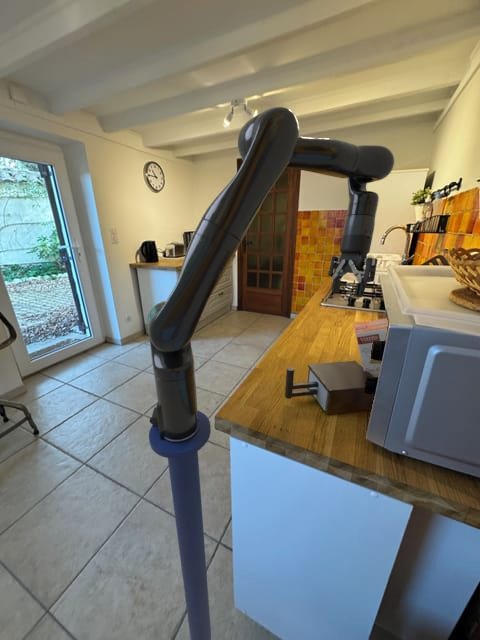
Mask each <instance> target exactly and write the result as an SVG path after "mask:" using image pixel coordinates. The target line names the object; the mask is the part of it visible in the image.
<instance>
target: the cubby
mask: <svg viewBox="0 0 480 640" xmlns="http://www.w3.org/2000/svg"><path fill="white" fill-rule="evenodd" d="M307 368H308V374H307V382H309V374H310V370H311V371H312V372H313V374H314V375H315V376H316V377H317V379H318V380H319V381H320V382H321V384H322V385H323V386H324V387H325V389H326V390H327V391H328V392H329V396H328V403H327V410H326V411H325V414H326V415H337V414H338V415H339V414H345V413H355V412H365V411H372V410H371V409H372V404H373V400H374V395H368V394H365V393H364V386H365V379H366V376H372V377H374V376H373V375H372V374H370V373H369V372H368V371H364V370H363V366H362V364H360V363H359V362H358V361H356V360H347V361H334V362H321V363H310V364H307Z"/></svg>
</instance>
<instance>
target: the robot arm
mask: <svg viewBox="0 0 480 640" xmlns="http://www.w3.org/2000/svg"><path fill="white" fill-rule="evenodd" d="M237 149H238V153H239V156H240V157H241V160H242V162H241V165H240V167H239V169H238V170H237V172H236V173H235V174H234V176H233V178H232V179H231V180H230V181H229V183H227V185H226V186H225V187H224V188H223V189H222V190H221V191H220V192H219V194H218V195H217V196H216V197H215V199H213V201H212V202H211V203H210V204H209V206H208V207H207V208H206V211H204V213H203V215H202V217H201V218H200V220H199V222H198V224H197V226H196V228H195V230H194V231H193V234H192V236H191V238H190V241H189V242H188V246H187V249H186V252H185V255H184V258H183V261H182V265H181V269H180V272H179V274H178V278H177V281H176V283H175V285H174V287H173V289H172V291H171V292H170V294H169V295H168V297H167V299H166V300H164V301H161V302H158V303H156V304H155V305H154V306H153V307H152V308H151V309H150V310H149V313H148V315H147V333H148V337H149V344H150V352H151V362H152V363H151V364H152V370H153V376H154V384H155V391H156V393H155V394H156V399H157V401H156V406H155V407H154V408H153V410H152V415H151V417H150V418H149V423H150V424H151V426H152V425H153V427H159V433H160V440H166V441H168V442H172V443H180V442H184V441H187V440H189V439H191V438H192V437H193V436H195V434H196V433H197V431H198V429H199V422H198V411H199V410H198V398H197V386H196V385H197V384H196V371H195V370H196V369H195V368H196V367H195V359H194V353H193V349H192V339H193V337H194V335H195V332H196V330H197V328H198V325H199V322H200V320H201V318H202V315H203V314H204V310H205V309H206V306H207V304H208V302H209V300H210V298H211V296H212V294H213V293H214V291H215V289H216V288H217V286H218V285H219V283H220V281H221V280H222V277H223V275H224V274H225V272H226V270H227V268H228V267H229V266H230V264H231V262H232V260H233V259H234V256H235V254H237V251H238V249H239V248H240V246H241V244H242V242H243V239H244V238H245V236H246V234H247V231H249V228H250V226H251V225H252V223H253V221H254V220H255V218H256V216H257V214H258V212H259V211H260V208H261V206H262V205H263V203H264V201H265V199H266V197H267V196H268V194H269V193H270V191H271V190H272V188H273V186H274V185H275V184H276V182H277V180H278V179H279V178H280V176H281V175H282V173H283V172H284V171H285V169H289V170H298V171H304V172H308V173H314V174H318V175H323V176H328V177H334V178H338V179H347V188H348V189H347V191H348V206H347V212H346V218H345V221H344V224H343V228H342V229H343V230H342V235H341V241H340V247H339V252H340V253H341V254H340V256H335V255H333V256H331V261H330V265H329V270H328V277H331V279H332V285H331V292H332V293H340V289H341V284H342V278H343V277H344V276H345V275H347V274H348V273H349V274H353V276H354V277H355V278H356V281H357V282H356V285H355V289H354V298H362V297H363V296H364V295H365V290H366V286H367V284H368V283H373V282H374V281H375V278H376V273H377V265H378V258H376V257H369V256H368V254H369V253H370V252H371V246H372V241H373V238H374V237H373V236H374V231H375V224H376V216H377V211H378V206H379V200H380V197H379V193H377V192H376V191H372V190H367V189H368V188H367V184H370V183H374V182H379V181H382V180H384V179H386V178H387V177H388V176H389V175H391V173H392V171H393V169H394V167H395V156H394V154H393V152H392V151H391V149H390V148H388V147H386V146H383V145H373V144H371V145H370V144H369V145H367V144H365V145H356V144H354V143H351V142H347V141H344V140H339V139H335V138H325V137H323V138H320V137H319V138H318V137H305V136H304V137H303V136H300V127H299V122H298V119H297V117H296V115H295V114H294V112H293V111H292V110H291V109H289V108H287V107H284V106H273V107H272V108H271V107H270V108H267V109H265V110H264V111H262V112H261V113H258V114H257V115H255V116H253V117H252V118H250V119H249V120H248V121H246V122H245V123H244V125H243V126H242V127H241V129H240V131H239V134H238V138H237ZM197 410H198V411H197Z"/></svg>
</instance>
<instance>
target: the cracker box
mask: <svg viewBox="0 0 480 640" xmlns="http://www.w3.org/2000/svg"><path fill="white" fill-rule="evenodd" d="M387 318H388V317H385V318H380V319H374V320H369V321H361V322H357V323H353V328H354V333H355V337H356V342H357V346H358V352H359V357H360V361H361V366H362V367H363V370H364V371H368V372H369V373H370V374H372V375H373V376H374V377H378V374H379V370H380V366H381V361H377V360H373V359H371V350H372V344H373V341H374V340H380V341H384V340H385V338H386V333H387V326H388V320H387Z"/></svg>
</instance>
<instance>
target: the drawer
mask: <svg viewBox="0 0 480 640" xmlns="http://www.w3.org/2000/svg"><path fill="white" fill-rule="evenodd" d="M294 379H295V368H294V367H291V366H290V367H289V366H288V367H286V376H285V388H284V397H285V399H288V400H290V399H292V398H296V397H306V396H314V398H315V399H316V401H317V402H318V404H319V405H320V406H321V409H323V411H324V412H326V410H327V403H328V396H329V392H328V391H327V390H326V389H325V387H324V386H323V385H322V384H321V382H320V381H319V380H318V379H317V377H316V376H315V375H314V374H313V372H312V371H311V370H310V374H309V382H308V381H306V382H304V381H303V382H295V383H294Z"/></svg>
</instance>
